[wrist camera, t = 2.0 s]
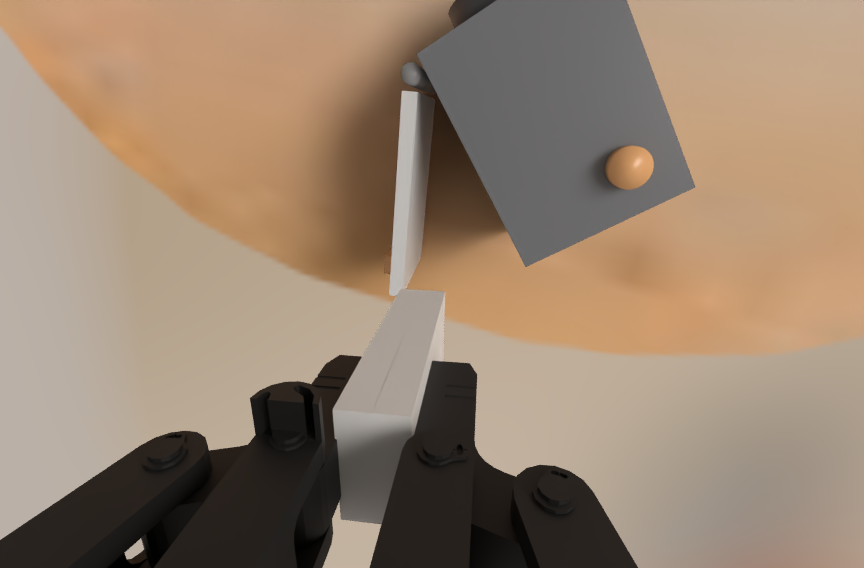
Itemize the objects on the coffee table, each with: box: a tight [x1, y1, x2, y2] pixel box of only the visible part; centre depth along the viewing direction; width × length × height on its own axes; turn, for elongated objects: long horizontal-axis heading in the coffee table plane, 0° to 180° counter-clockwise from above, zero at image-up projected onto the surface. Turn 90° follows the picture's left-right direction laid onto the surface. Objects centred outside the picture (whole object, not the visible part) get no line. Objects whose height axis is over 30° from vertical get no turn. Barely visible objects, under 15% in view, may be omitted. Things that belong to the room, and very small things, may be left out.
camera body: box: [417, 0, 695, 267], centre depth 24 cm, size 14×9×10 cm, turn 30°
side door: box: [384, 62, 436, 296], centre depth 27 cm, size 12×2×8 cm, turn 175°
